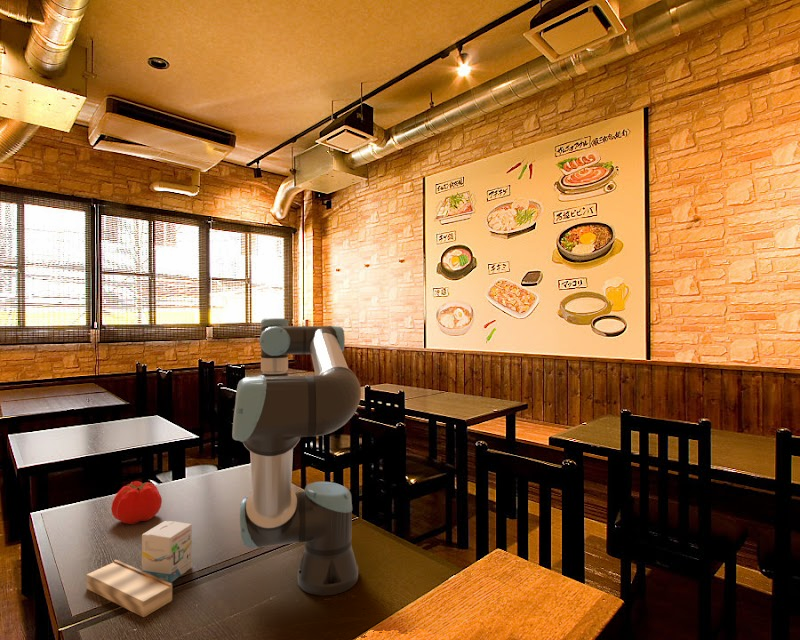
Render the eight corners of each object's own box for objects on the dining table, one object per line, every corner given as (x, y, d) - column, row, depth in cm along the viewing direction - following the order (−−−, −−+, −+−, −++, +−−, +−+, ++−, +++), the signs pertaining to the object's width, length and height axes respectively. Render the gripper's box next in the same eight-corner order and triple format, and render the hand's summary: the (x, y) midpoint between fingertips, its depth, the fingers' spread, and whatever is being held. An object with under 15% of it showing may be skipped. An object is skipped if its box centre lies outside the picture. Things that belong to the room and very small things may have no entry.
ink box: (169, 585, 116) (169, 538, 116) (140, 580, 118) (140, 534, 118) (192, 566, 124) (192, 523, 124) (164, 562, 126) (164, 519, 126)
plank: (172, 600, 110) (172, 583, 110) (143, 617, 103) (143, 599, 103) (116, 574, 120) (116, 559, 120) (87, 588, 114) (86, 572, 114)
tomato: (164, 522, 150) (164, 485, 150) (112, 533, 142) (112, 494, 142) (158, 507, 161) (158, 473, 161) (110, 517, 153) (110, 481, 153)
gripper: (280, 368, 143) (280, 446, 143) (247, 373, 131) (247, 458, 132) (299, 370, 139) (299, 450, 139) (267, 375, 128) (267, 462, 128)
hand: (274, 454), depth 136 cm, fingers closed
